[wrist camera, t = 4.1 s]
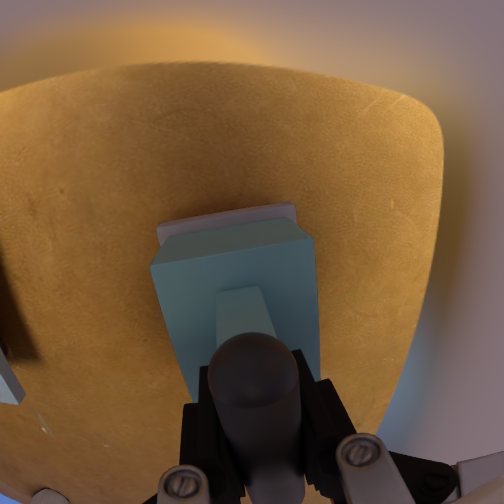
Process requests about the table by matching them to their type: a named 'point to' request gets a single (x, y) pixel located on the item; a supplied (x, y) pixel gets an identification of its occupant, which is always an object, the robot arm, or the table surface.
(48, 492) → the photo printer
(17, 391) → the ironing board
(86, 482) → the table surface
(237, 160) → the table surface
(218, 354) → the iron
